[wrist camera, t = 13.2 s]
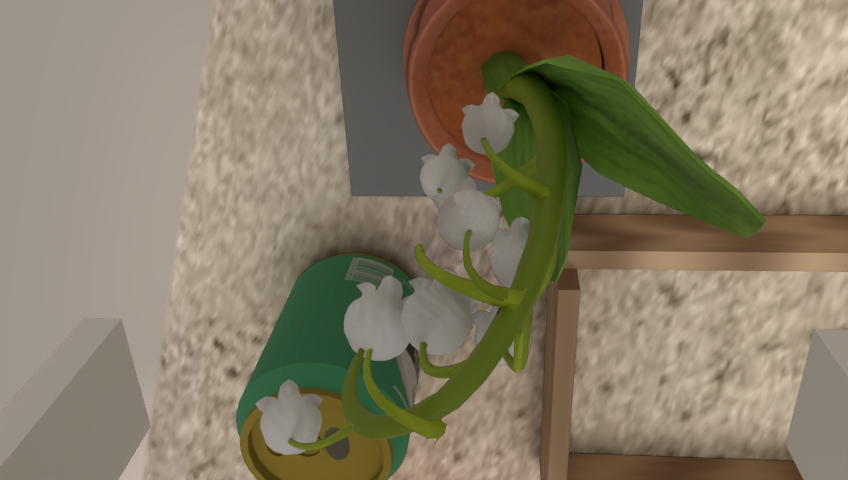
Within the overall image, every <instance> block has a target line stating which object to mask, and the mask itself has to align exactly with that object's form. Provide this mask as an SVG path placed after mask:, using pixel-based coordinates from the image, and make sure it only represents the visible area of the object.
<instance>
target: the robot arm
mask: <svg viewBox="0 0 848 480" xmlns="http://www.w3.org/2000/svg"><path fill="white" fill-rule="evenodd" d="M149 428H150V422H149V419H148V415H147V412H146V408H145V404H144V400H143V397H142V393H141V389H140V386H139V382H138V379H137V375H136V371H135V367H134V364H133V360H132V356H131V353H130V349H129V345H128V342H127V338H126V334H125V331H124V327H123V324H122V320H121V319H109V318H107V319H105V318H84V319H83V320H82V321H81V322H80V324H79V325H78V326H77V327H76V328H75V329H74V330H73V332H72V333H71V334H70V335H69V336H68V337H67V338H66V339H65V340H64V341H63V343H62V344H61V345H60V346H59V347H58V348H57V349H56V350H55V351H54V353H53V354H52V355H51V356H50V357H49V358H48V359H47V360H46V361H45V363H44V364H43V365H42V366H41V367H40V368H39V369H38V371H37V372H36V373H35V374H34V375H33V376H32V377H31V378H30V379H29V381H28V382H27V383H26V384H25V385H24V386H23V387H22V388H21V389H20V391H19V392H18V393H17V394H16V395H15V396H14V397H13V398H12V400H11V401H10V402H9V403H8V404H7V405H6V406H5V407H4V408H3V409H2V411H1V412H0V480H118V479H119V477H120V476H121V474H122V472H123V471H124V469H125V467H126V466H127V464H128V462H129V461H130V459H131V457H132V456H133V454H134V453H135V451H136V449H137V448H138V446H139V444H140V443H141V441H142V439H143V437H144V436H145V434H146V433H147V431H148V430H149ZM786 446H787V448H788V450H789V452H790V454H791V456H792V458H793V460H794V462H795V464H796V466H797V468H798V470H799V472H800V474H801V476H802V478H803V480H848V329H814V333H813V337H812V341H811V345H810V349H809V353H808V357H807V361H806V365H805V369H804V373H803V377H802V381H801V385H800V389H799V393H798V397H797V401H796V405H795V409H794V413H793V417H792V421H791V425H790V429H789V433H788V437H787V441H786Z"/></svg>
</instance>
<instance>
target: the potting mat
mask: <svg viewBox="0 0 848 480" xmlns="http://www.w3.org/2000/svg"><path fill="white" fill-rule="evenodd" d="M417 1H418V0H333V3H334V13H335V24H336V34H337V45H338V56H339V66H340V77H341V87H342V98H343V108H344V119H345V129H346V140H347V151H348V161H349V172H350V182H351V193H352V196H427V195H426V194H425V193H424V192H423V188H422V185H421V181H420V173H421V169H422V167H423V165H424V163H423V161H422V159H421V158H422V157H424V156H425V155H429V154H432V155H436V156H438V154H437V153H436V152H435V151H434V150H433V149H432V148H431V146H430V145H429V144H428V143H427V141H426V140H425V139H424V137H423V135H422V133H421V132H420V130H419V128H418V126H417V124H416V122H415V119H414V116H413V113H412V111H411V106H410V101H409V96H408V93H407V88H406V83H405V78H404V61H403V48H404V40H405V33H406V29H407V26H408V22H409V19H410V16H411V14H412V12H413V10H414V7H415V5H416V3H417ZM618 1H619V3H620V6H621V8H622V10H623V13H624V16H625V20H626V25H627V29H628V35H629V51H630V63H629V72H628V83H629V84H631V85H632V86H633V87H634V88H635V77H636V67H637V57H638V47H639V36H640V26H641V16H642V6H643V0H618ZM582 165H583V166H582V172H581V177H580V183H579V189H578V194H577V197H624V190H625V186H622V185H620V184H618V183H616V182H614V181H612V180H609V179H607V178H605V177H603V176H601V175H599V174H598V173H597V172H596V171H595V170H594V169H593V168H592V167H591V166H590V165H589V164H588V163H586V162H585V161H584V162H583V163H582ZM469 177H470V176H469ZM470 178H472V177H470ZM472 179H473V180H474V182H475V183H476V186H477V191H480V192H482V193H483V192H485V191H487V190H488V189H490V188H492V187H494V186H496V184H493V183H488V182H485V181H481V180H478V179H475V178H472Z"/></svg>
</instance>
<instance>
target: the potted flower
mask: <svg viewBox="0 0 848 480" xmlns="http://www.w3.org/2000/svg"><path fill="white" fill-rule="evenodd" d="M403 61H404V78H405V83H406V88H407V93H408V96H409V101H410V106H411V111H412V113H413V116H414V119H415V122H416V124H417V126H418V128H419V130H420V132H421V133H422V135H423V137H424V139H425V140H426V141H427V143H428V144H429V145H430V146H431V148H432V149H433V150H434V151H435V152H436V153H437V154H438V156H436V155H432V154H429V155H425V156H424V157H422V158H421V159H422V161H423V163H424V165H423V167H422V169H421V173H420V181H421V185H422V188H423V192H424V193H425V194H426V195H427V196H428V197H429V198H431V199H432V200H433V201H434V204H435V205H436V207H437V208H438V209H439V210H438V213H437V216H436V218H437V224H438V228H439V232H440V235H441V237H442V238H443V239H444V240H445V242H446V243H447V244H448V245H450V246H451V247H453V248H455V249H458V250H463V260H464V267H465V270H466V271H467V273H468V274H469V276H470V278H471V279H472V281H471V280H468V279H465V278H462V277H459V276H458V275H457V274H456V273H455V272H454V271H452V270H451V269H449V268H443V269H441V268H439V267H438V266H436V265H435V264H433V263H432V262H431V261H430V260H429V259H428V258H427V256H426V255H425V253H424V250H423V246H422V245H421V244H419V245H417V246H415V257H416V260H417V261H418V263H419V265H420V266H421V268H422V269H423V270H424V271H425V272H427V273H428V274H429V275H430V276H431V277H432V278H433V279H434V280H433V283H432V284H431V283H430V281H429V280H427V279H425V278H423V277H418V278H414V279H412V280H410V281H408V282H409V283H410V285H411V286H412V287H413V288H414V289H415V293H414V294H412V295H410V296H407V297H405V298H404V299H402V295H403V289H402V284H401V282H400V281H399V280H398V279H396V278H394V277H392V276H385V277H384V278H383V280H382V282H381V285H380V286H379V287H378V289H377V290H376V286H374V285H373V284H371V283H369V282H366V283H361V284H359V285H356V286H357V287H358V289H359V290H360V291H361V292H362V296H361V297H360V298H359V299H357V300H355V301H353V302H352V303H351V305H350V306H349V307H348V309H347V312H346V314H345V318H344V332H345V334H346V337H347V339H348V341H349V344H350V346H351V348H352V349H353V350H354V351H355V352H356V355H355V357H354V358H353V360H352V362H351V364H350V367H349V369H348V372H347V374H346V377H345V380H344V385H343V390H342V395H341V396H342V405H343V414H344V416H345V418H346V420H347V422H348V423H347V424H346V425H345V426H344V427H343V428H341V429H340V430H339V431H337V432H336V433H334V434H332V435H331V436H329V437H327V438H325V439H323V440H320V441H317V442H316V440H317V438H318V435H319V433H320V429H321V426H322V417H321V412H320V410H319V409H318V406H319V405H320V403H321V402H322V400H323V399H322V398H321V397H319V396H318V395H316V394H307V395H304V396H303V397H302V396H301V394H300V392H299V388H298V385H297V384H296V383H295V382H294V381H292V380H290V379H289V380H287V381H285V382H284V383H283V384H282V385H281V386H280V390H279V394H278V400H277V399H276V398H275V397H267V396H266V397H264V398H262V399H260V400H259V401H258V402H256V403H255V404H256V406H257V407H258V409H259V410H260V411H262V412H263V414H262V416H261V420H260V428H261V432H262V434H263V437H264V439H265V442H266V444H267V446H268V447H270V448H271V449H272V450H273V451H275V452H278V453H281V454H283V455H290V454H300V453H302V452H304V451H306V450H314V449H319V448H323V447H326V446H329V445H331V444H333V443H336V442H338V441H340V440H342V439H343V438H345V437H347V436H349V435H350V434H352V433H353V432H355V431H356V432H357V433H358V434H360V435H361V436H363V437H366V438H371V439H377V440H379V439H391V438H395V437H399V436H403V435H406V434H409V433H411V432H416V433H418V434H420V435H422V436H424V437H426V438H427V439H431V438H436V439H437V440H438V439H439V438H440V437H441V436H442V435H443V434H444V433H445V429H446V425H447V424H445V423H444V422H443V421H442V420H441V419H442V418H443V417H445V416H446V415H448V414H449V413H451V412H452V411H454V410H456V409H457V408H459V407H460V406H461V405H462V404H463V403H464V402H465V401H466V400H467V399H468V398H469V397H470V396H471V395H472V394H473V393H474V392H475V391H476V390H477V389H478V388H479V387H480V386H481V385H482V384H483V383H484V381H485V380H486V379H487V377H488V376H489V375H490V373H491V372H492V371H493V369H494V368H495V366H496V365H500V366H509V367H510V368H511V369H512V370H513V371H514V372H516V373H518V372H520V371H522V370H523V369H524V367H525V365H526V362H527V358H528V352H529V347H530V345H531V326H532V313H533V304H534V303H535V302H536V301H537V300H538V299H539V298H540V297H541V296H542V295H543V293H544V292H545V290H546V288H547V286H548V284H549V282H550V281H552V282H557V281H558V279H559V277H560V275H561V273H562V271H563V269H564V267H565V264H566V261H567V256H568V250H569V244H570V237H571V229H572V223H573V217H574V211H575V206H576V200H577V194H578V189H579V183H580V177H581V172H582V166H583V165H582V163H583V162H584V161H585V162H586V163H588V164H589V165H590V166H591V167H592V168H593V169H594V170H595V171H596V172H597V173H598V174H599V175H601V176H603V177H605V178H607V179H609V180H612V181H614V182H616V183H618V184H620V185H622V186H625V187H627V188H629V189H631V190H633V191H636V192H638V193H640V194H642V195H644V196H646V197H649V198H651V199H653V200H655V201H657V202H659V203H662V204H664V205H666V206H669V207H671V208H673V209H676V210H678V211H681V212H683V213H686V214H688V215H690V216H693V217H695V218H698V219H700V220H703V221H705V222H708V223H710V224H712V225H715V226H717V227H720V228H722V229H725V230H727V231H730V232H732V233H735V234H737V235H740V236H742V237H745V238H747V237H749V236H751V235H753V234H754V233H756V232H758V231H760V230H761V228H762V227H763V225H764V224H765V222H766V220H765V219H764V217H763V216H762V215H761V214H760V213H759V212H758V211H757V210H756V209H755V208H754V207H753V205H752V204H751V203H750V202H749V201H748V200H747V199H746V198H745V197H744V196H743V195H742V193H741V192H740V191H739V190H737V189H736V188H735V187H734V186H733V185H731V184H730V183H729V182H728V181H726V180H725V179H724V178H723V177H721V176H720V175H719V174H718V173H717V172H715V171H714V170H713V169H712V168H710V167H709V166H708V165H707V164H705V163H704V162H703V161H702V160H701V159H700V158H699V157H698V156H697V155H696V154H695V153H694V152H693V151H692V150H691V149H690V148H689V147H688V146H687V145H686V144H685V143H684V142H683V140H682V139H681V138H680V137H679V136H678V135H677V134H676V133H675V132H674V131H673V129H672V128H671V127H670V126H669V125H668V124H667V123H666V122H665V121H664V120H663V118H662V117H661V116H660V115H659V114H658V113H657V112H656V111H655V110H654V109H653V107H652V106H651V105H650V104H649V103H648V102H647V101H646V100H645V99H644V98H643V97H642V95H641V94H640V93H639V92H638V91H637V90H636V89H635V88H634V87H633V86H632V85H631V84H629V83H628V72H629V63H630V51H629V35H628V29H627V25H626V20H625V16H624V13H623V10H622V8H621V6H620V3H619V1H618V0H418V1H417V3H416V5H415V7H414V10H413V12H412V14H411V16H410V19H409V22H408V26H407V29H406V33H405V40H404V48H403ZM469 176H470V177H472V178H475V179H478V180H481V181H485V182H488V183H493V184H496V186H494V187H492V188H490V189H488V190H487V191H485V192H483V193H482V192H480V191H477V186H476V183H475V182H474V180H473V179H472V178H470V177H469ZM497 196H499V197H500V201H501V205H502V209H503V213H504V216H505V219H506V221H507V223H508V225H509V228H510V231H509V234H508V232H507V231H506V230H504V229H500V228H498V227H499V211H498V209H497V207H498V205H499V204H500V202H499V201H498V200H497V199H495V197H497ZM470 231H472V232H473V233H472V234H470ZM491 241H493V245H494V250H493V252H492V255H491V257H490V261H491V265H492V268H493V272H494V275H495V278H496V279H497V280H498V281H499V282H501V283H502V284H503V285H504V286H506V287H508V288H505V287H500V286H494V285H492V284H490V283H488V282H487V281H485V280H483V279H482V278H481V277H480V276H479V275H478V273H477V272H476V271H475V269H474V268H473V266H472V264H471V260H470V256H469V250H471V251H475V250H478V249H480V248H483V247H485V246H486V245H487V244H488V243H490V242H491ZM430 284H431V286H430ZM375 290H376V292H375ZM401 299H402V300H401ZM482 302H484V303H487V304H490V305H493V307H492V310H491V314H490V313H489V312H487V311H482V310H479V311H476V312H474V313H473V314H472V312H473V310H474V308H475V307H476V305H478V304H480V303H482ZM472 321H473V323H474V324H476V326H477V330H476V333H475V342H476V347H475V348H474V350H473V351H472V353H471V354H470V355H469V357H468V359H467V360H465V361H462V362H460V363H457V364H454V365H450V366H446V367H438V366H434V365H432V364H431V363H430V362H429V361H428V358H427V353H428V354H432V355H436V356H441V355H447V354H450V353H452V352H454V351H456V350H457V349H459V348H460V347H461V346H462V344H463V343H464V341H465V340H466V338H467V337H468V335H469V334H470V332H471V330H472V328H473V325H472ZM409 343H410V344H411V345H412V346H413V347H415V348H416V349H417V350H419V356H418V357H419V362H420V367H421V368H422V369H423V371H424V372H425V373H426V374H428V375H430V376H432V377H436V378H444V379H446V378H450V379H449V380H448V382H447V383H446V384H445V385H444V386H443V387H442V388H441V389H440V390H439V391H438V392H436V393H435V394H433V395H431V396H430V397H428V398H426V399H425V400H423V401H421V402H420V403H418V404H416V405H413V406H411V407H409V408H407V409H404V410H403V409H401V408H399V407H398V406H396V405H395V404H393V403H392V402H391V401H390V400H388V399H387V398H386V397H385V396H384V395H383V394H382V393H381V391H380V390H379V389H378V388H377V386H376V384H375V382H374V380H373V378H372V376H371V368H370V363H371V360H373V361H386V360H389V359H392V358H394V357H396V356H398V355H400V354H401V353H402V352H403V351H404V350H405V349H406V347H407V346H408V344H409ZM363 357H364V362H363V380H364V382H365V385H366V388H367V390H368V393H369V394H370V395H371V397H372V398H373V400H374V401H375V402H376V404H377V405H378V406H379V407H380V408H381V409H382V410H383V411H384V412H385V413H387V414H378V415H375V414H373V413H371V412H369V411H368V410H366V409H365V407H364V406H363V405H362V404H361V403H360V400H359V397H358V394H357V379H358V375H359V370H360V366H361V362H362V359H363ZM437 440H436V442H437ZM436 442H435V443H436ZM435 443H434V444H435Z"/></svg>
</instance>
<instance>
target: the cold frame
mask: <svg viewBox="0 0 848 480" xmlns="http://www.w3.org/2000/svg"><path fill="white" fill-rule="evenodd" d="M762 216H763V217H764V219H765V220H766V222H765V224H764V225H763V227H762V228H761V230H760V231H758V232H756V233H754V234H753V235H751V236H749V237H747V238H745V237H742V236H740V235H737V234H735V233H732V232H730V231H727V230H725V229H722V228H720V227H717V226H715V225H712V224H710V223H708V222H705V221H703V220H700V219H698V218H695V217H693V216H690V215H588V214H574V217H573V223H572V229H571V237H570V244H569V250H568V256H567V261H566V264H565V267H564V269H563V271H562V273H561V275H560V277H559V279H558V281H557V282H552V281H550V282H549V284H548V299H547V320H546V341H545V362H544V383H543V405H542V426H541V447H540V475H541V480H803V478H802V476H801V474H800V472H799V470H798V468H797V466H796V464H795V462H794V461H773V460H746V459H718V458H691V457H664V456H636V455H609V454H582V453H569V441H570V427H571V413H572V399H573V385H574V371H575V357H576V343H577V329H578V315H579V301H580V286H579V281H578V275H577V270H576V269H652V270H737V271H822V272H848V216H812V215H762Z"/></svg>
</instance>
